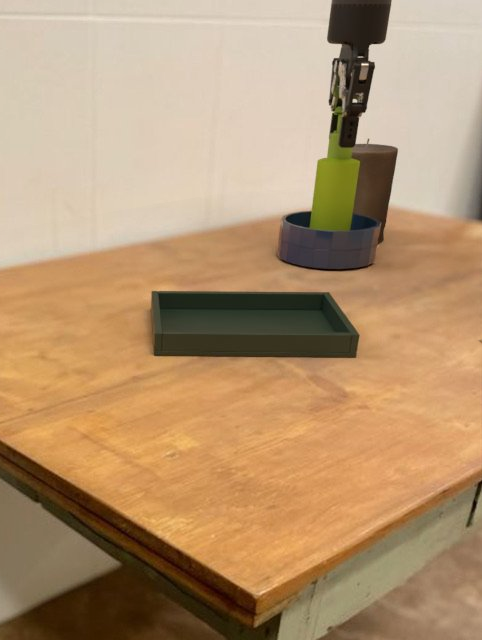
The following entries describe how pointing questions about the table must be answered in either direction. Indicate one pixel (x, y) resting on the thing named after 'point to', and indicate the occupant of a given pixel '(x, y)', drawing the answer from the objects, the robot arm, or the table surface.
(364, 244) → the bowl
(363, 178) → the pillar candle
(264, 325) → the tray
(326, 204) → the soap dispenser
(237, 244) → the table surface
